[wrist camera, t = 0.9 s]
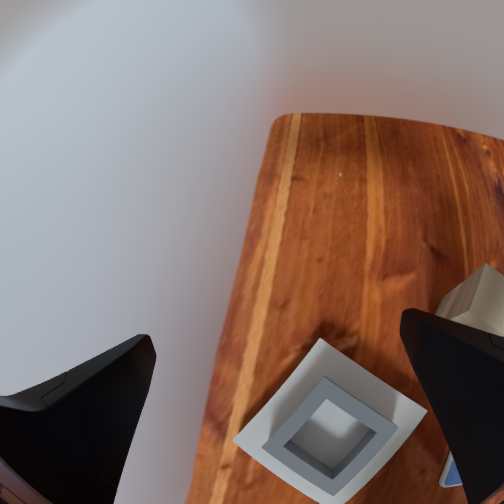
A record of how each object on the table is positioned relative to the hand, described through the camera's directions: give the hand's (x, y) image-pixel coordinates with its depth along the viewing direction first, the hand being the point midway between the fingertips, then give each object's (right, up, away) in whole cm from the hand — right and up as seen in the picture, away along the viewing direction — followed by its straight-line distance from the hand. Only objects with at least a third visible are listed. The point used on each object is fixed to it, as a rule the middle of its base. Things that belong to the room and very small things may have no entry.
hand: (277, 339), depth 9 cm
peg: (+17, -4, +11) cm, 21 cm away
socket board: (+6, -12, +11) cm, 18 cm away
